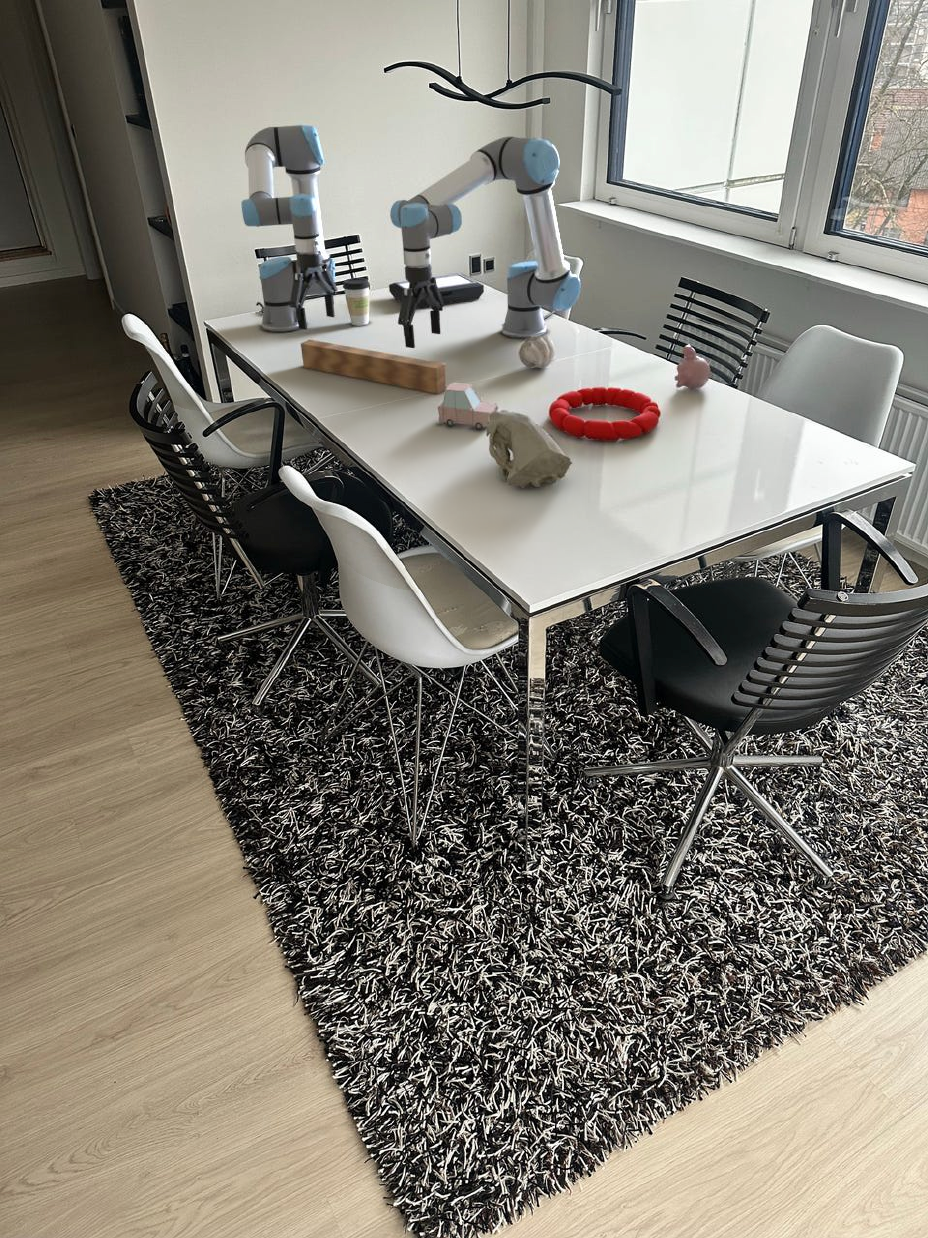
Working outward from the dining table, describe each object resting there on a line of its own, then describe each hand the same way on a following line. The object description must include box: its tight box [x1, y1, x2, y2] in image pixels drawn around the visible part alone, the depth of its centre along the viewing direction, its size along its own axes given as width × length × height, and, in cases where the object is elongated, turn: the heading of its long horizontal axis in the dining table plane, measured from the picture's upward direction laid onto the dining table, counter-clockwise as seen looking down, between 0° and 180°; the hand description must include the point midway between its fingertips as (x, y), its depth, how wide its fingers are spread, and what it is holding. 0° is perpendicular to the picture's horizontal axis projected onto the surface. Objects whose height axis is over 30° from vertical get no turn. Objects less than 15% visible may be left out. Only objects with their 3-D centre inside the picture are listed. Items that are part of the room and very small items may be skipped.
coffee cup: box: [342, 277, 371, 327], centre depth 323 cm, size 10×10×15 cm
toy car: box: [437, 382, 499, 431], centre depth 243 cm, size 9×15×10 cm, turn 70°
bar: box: [300, 339, 447, 395], centre depth 276 cm, size 52×5×8 cm, turn 58°
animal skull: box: [485, 409, 573, 489], centre depth 216 cm, size 17×25×20 cm
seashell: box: [518, 335, 556, 369], centre depth 279 cm, size 10×15×10 cm
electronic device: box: [388, 273, 485, 309], centre depth 349 cm, size 32×6×20 cm
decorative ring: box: [548, 386, 661, 442], centre depth 242 cm, size 7×30×30 cm
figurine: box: [674, 344, 711, 390], centre depth 259 cm, size 9×11×12 cm
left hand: (317, 322), depth 280 cm, fingers open, 13 cm apart
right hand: (423, 340), depth 262 cm, fingers open, 13 cm apart
